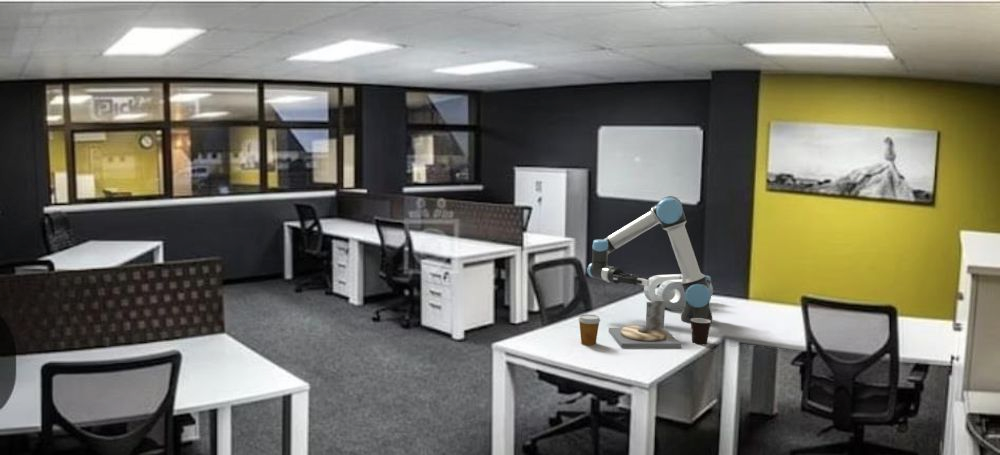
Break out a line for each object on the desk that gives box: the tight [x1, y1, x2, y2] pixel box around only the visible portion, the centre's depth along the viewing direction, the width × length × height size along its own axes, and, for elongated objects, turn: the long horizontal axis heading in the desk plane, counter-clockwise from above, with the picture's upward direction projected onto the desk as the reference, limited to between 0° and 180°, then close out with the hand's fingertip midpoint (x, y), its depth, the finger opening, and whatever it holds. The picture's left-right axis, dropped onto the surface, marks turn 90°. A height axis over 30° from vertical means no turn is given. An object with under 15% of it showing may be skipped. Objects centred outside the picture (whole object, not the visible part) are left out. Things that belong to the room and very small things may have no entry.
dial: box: [621, 300, 667, 341], centre depth 320 cm, size 22×20×14 cm
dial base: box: [608, 327, 682, 349], centre depth 320 cm, size 26×26×2 cm
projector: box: [643, 273, 714, 311], centre depth 390 cm, size 35×19×15 cm, turn 108°
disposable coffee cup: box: [578, 313, 601, 346], centre depth 312 cm, size 10×10×12 cm
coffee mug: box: [690, 318, 711, 346], centre depth 318 cm, size 12×9×10 cm
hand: (648, 283), depth 326 cm, fingers closed
